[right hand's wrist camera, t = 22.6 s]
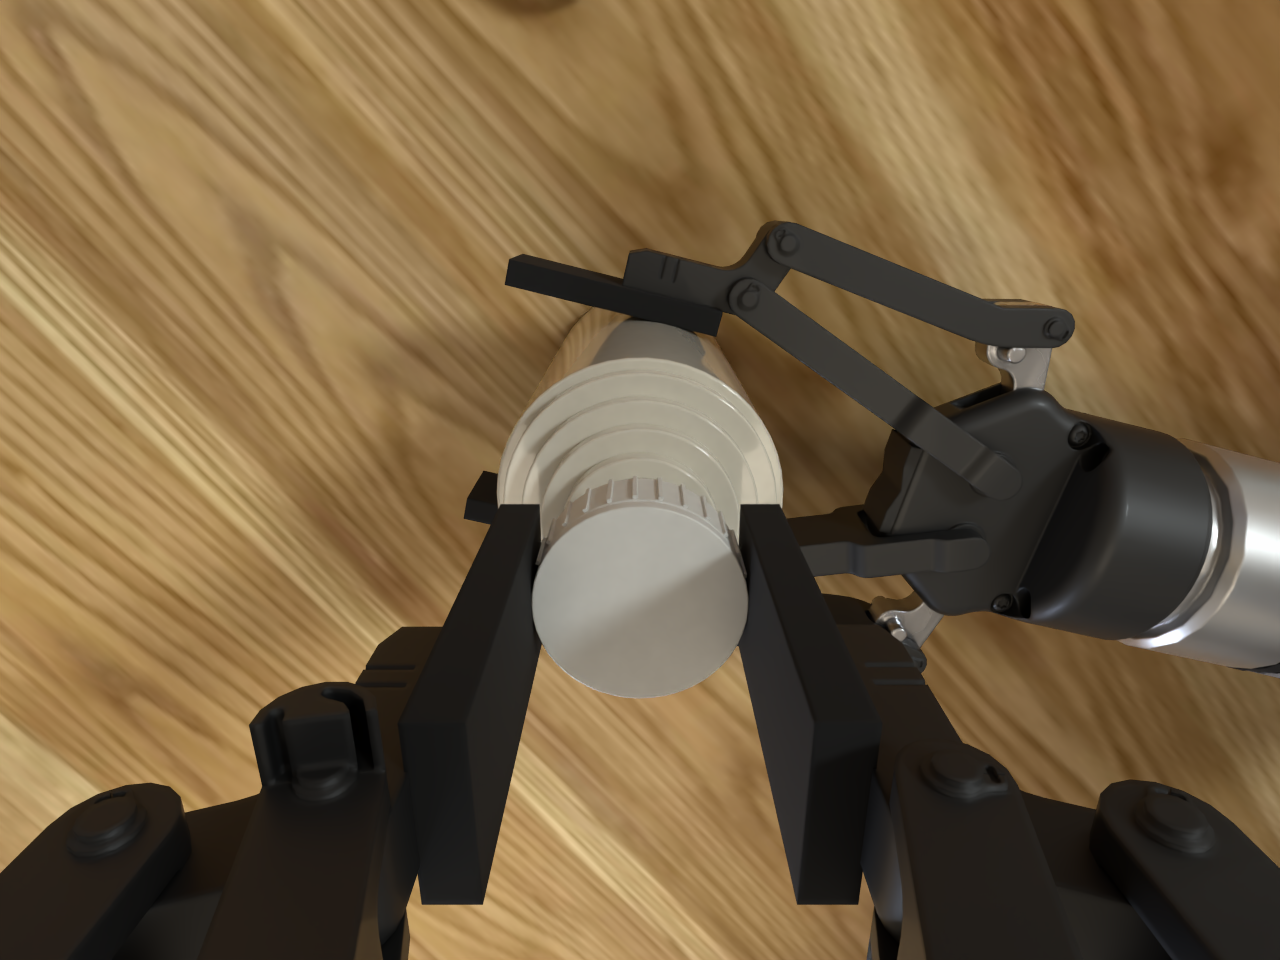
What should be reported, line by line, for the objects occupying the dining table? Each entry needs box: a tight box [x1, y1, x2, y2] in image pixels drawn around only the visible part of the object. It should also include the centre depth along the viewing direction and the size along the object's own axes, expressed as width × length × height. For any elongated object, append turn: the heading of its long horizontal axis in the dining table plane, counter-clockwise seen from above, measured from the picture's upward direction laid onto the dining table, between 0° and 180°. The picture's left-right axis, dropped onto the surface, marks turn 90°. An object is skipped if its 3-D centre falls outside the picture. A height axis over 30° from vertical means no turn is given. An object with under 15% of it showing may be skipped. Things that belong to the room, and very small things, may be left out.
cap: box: [532, 476, 749, 698], centre depth 14 cm, size 4×4×2 cm
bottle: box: [497, 307, 783, 544], centre depth 22 cm, size 7×7×18 cm
